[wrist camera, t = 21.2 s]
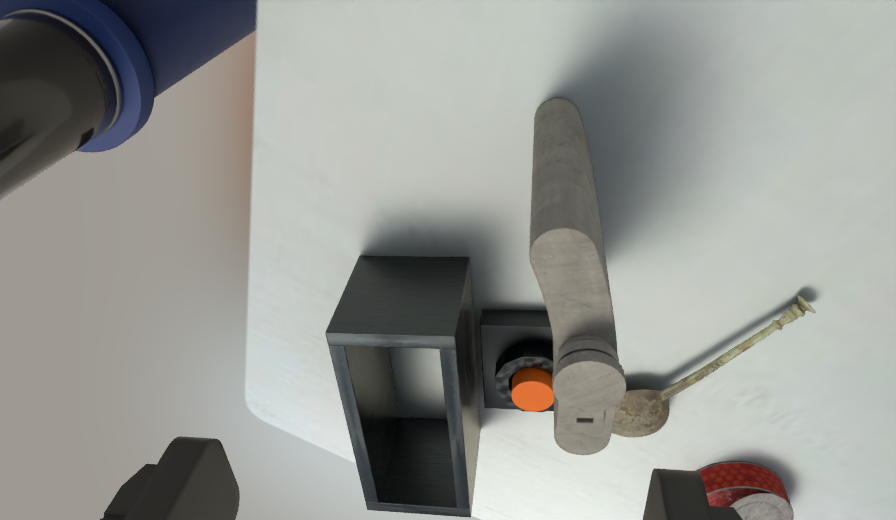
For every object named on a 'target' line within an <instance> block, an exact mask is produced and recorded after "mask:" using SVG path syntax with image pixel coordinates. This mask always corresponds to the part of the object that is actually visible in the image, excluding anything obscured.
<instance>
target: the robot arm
mask: <svg viewBox="0 0 896 520" xmlns="http://www.w3.org/2000/svg"><path fill="white" fill-rule="evenodd" d="M123 99H124V98H123V87H122V83H121V79H120V76H119V73H118V71H117V68H116V66H115V64H114V62H113V60H112V59H111V57H110V55H109V54H108V52H107V51H106V50H105V48H104V47H103V46H102V45H101V43H100V42H99V41H98V40H97V39H96V38H95V37H94V36H93V35H92V34H91V33H90V32H89V31H88V30H86V29H85V28H84V27H83V26H81V25H80V24H79V23H77V22H76V21H74V20H72V19H71V18H69V17H67V16H65V15H63V14H60V13H58V12H55V11H52V10H48V9H43V8H25V9H21V10H18V11H15V12H12V13H10V14H7V15H6V16H4V17H2V18H0V200H2V199H3V198H5V197H6V196H8V195H9V194H11V193H12V192H14V191H15V190H17V189H18V188H20V187H21V186H23V185H24V184H26V183H27V182H29V181H30V180H32V179H33V178H35V177H36V176H38V175H39V174H41V173H42V172H44V171H45V170H47V169H48V168H50V167H51V166H53V165H54V164H56V163H57V162H59V161H60V160H62V159H63V158H65V157H66V156H68V155H69V154H71V153H72V152H74V151H76V150H77V149H79V148H80V147H82V146H83V145H85V144H86V143H88V142H89V141H91V140H92V139H94V138H97V137H99V136H101V135H102V134H104V133H105V132H107V131H108V130H110V129H111V128H112V127H113V126H114V125H115V124H116V122H117V121H118V119H119V117H120V115H121V112H122V108H123ZM88 144H89V143H88ZM85 146H86V145H85ZM82 148H83V147H82ZM238 507H239V487H238V484H237V482H236V479H235V477H234V474H233V471H232V469H231V467H230V464H229V461H228V459H227V456H226V454H225V451H224V449H223V446H222V444H221V442H220V441H219V440H218V439H211V438H194V437H177V438H175V439H174V440H173V441H172V442H171V443H170V444H169V446H168V447H167V449H166V451H165V452H164V454H163V455H162V457H161V459H160V460H159V462H158V464H157V465H154V464H146V465H145V466H144V467H142V468H141V469H140V470H139V471H138V472H137V473H136V474H135V475H134V476H132V477H131V478H130V479H129V480H128V481H127V482H126V483H125V484H124V485H122V486H121V488H120V489H119V491H118V492H117V494H116V495H115V497H114V499H113V500H112V502H111V504H110V505H109V506H108V508H107V510H106V511H105V513H104V518H103V519H100V520H235V519H236V515H237V512H238ZM643 520H743V519H742V518H741V517H740V515H739V514H738V513H737V511H736V510H735V508H734V507H721V506H709V502H708V498H707V494H706V490H705V486H704V482H703V479H702V476H701V474H700V473H699V472H698V471H684V470H668V469H654V470H653V472H652V475H651V481H650V486H649V491H648V496H647V501H646V506H645V511H644V516H643Z"/></svg>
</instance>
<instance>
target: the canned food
mask: <svg viewBox="0 0 896 520" xmlns="http://www.w3.org/2000/svg"><path fill="white" fill-rule="evenodd" d="M698 472H699V473H700V474H701V476H702V479H703V482H704V486H705V490H706V494H707V498H708V502H709V506H721V507H734V508H735V510H736V511H737V513H738V514H739V515H740V517H741V518H742V519H743V520H793V518H794V514H793V509H792V507H791V505H790V502H789V499H788V496H787V494H786V491H785V488H784V484H783V483H782V481H781V479H780V478H779V477H778V476H777V475H776V474H775V473H774V472H773V471H771V470H770V469H768V468H766V467H763V466H761V465H758V464H754V463H749V462H722V463H717V464H713V465H709V466H707V467H704V468H702V469H700V470H698Z"/></svg>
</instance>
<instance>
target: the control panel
mask: <svg viewBox="0 0 896 520" xmlns="http://www.w3.org/2000/svg"><path fill="white" fill-rule="evenodd" d="M480 336H481V353H482V370H483V387H484V404H485V408H500V409H519V410H521V411H526V410H523V409H521V408H519V407H518V406H517V405H515V403H514V402H513V400H512V397H511V392H512V379H513V376H514V374H515V373H516V372H517V371H519V370H520V369H523V368H526V367H537V368H542V369H544V370H546V371H548V372H549V373H550V374H551V375H552V373H553V334H552V328H551V324H550V320H549V316H548V312H547V311H529V310H486V309H483V310H482V314H481V321H480ZM552 376H553V375H552ZM544 411H554V402H553V404H552V405H551V406H550V407H549V408H547V409H545V410H542V411H537V412H544Z"/></svg>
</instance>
